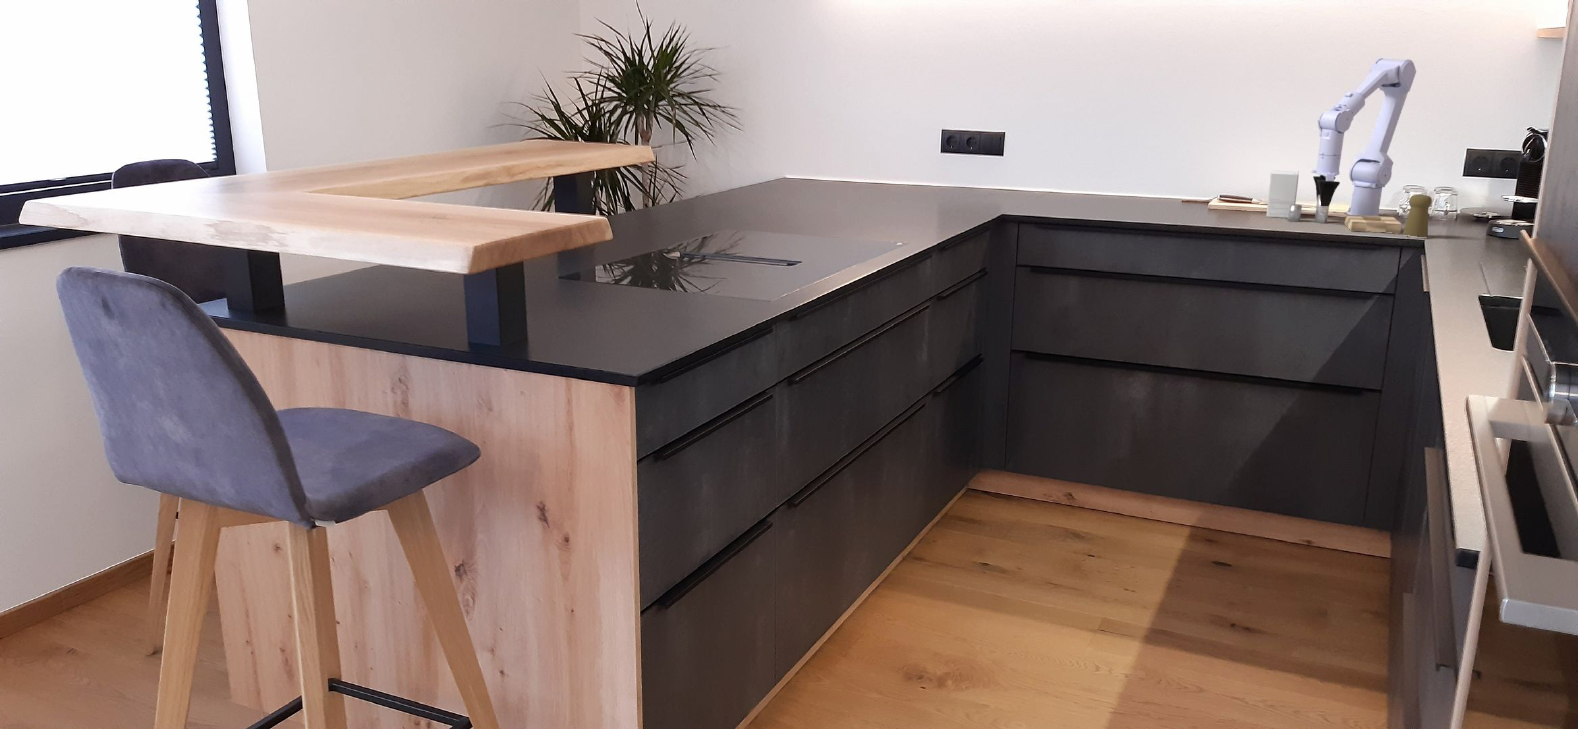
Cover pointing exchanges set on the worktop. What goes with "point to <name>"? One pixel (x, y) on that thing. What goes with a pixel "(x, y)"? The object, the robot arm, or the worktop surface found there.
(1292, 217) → the short pin
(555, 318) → the worktop surface
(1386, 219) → the oak frame
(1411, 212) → the cork
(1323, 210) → the long pin
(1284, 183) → the supplement box
